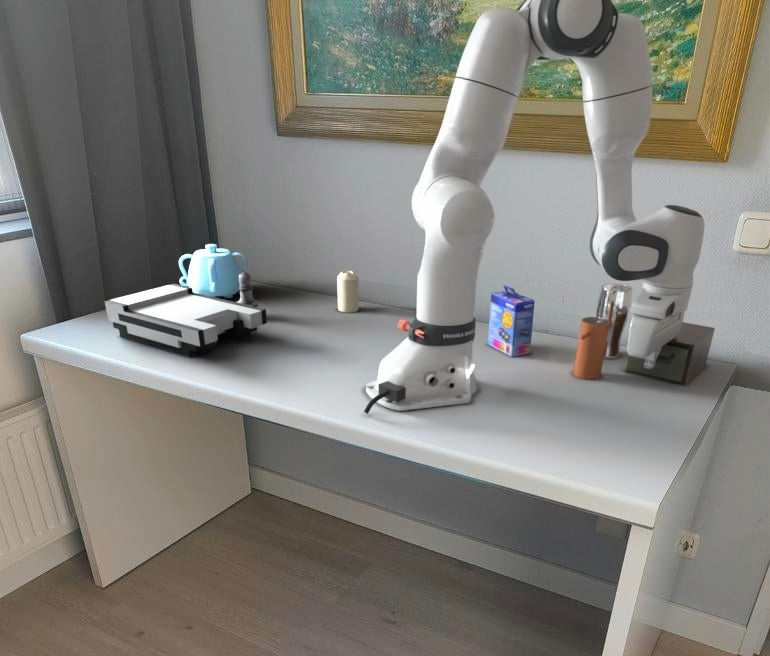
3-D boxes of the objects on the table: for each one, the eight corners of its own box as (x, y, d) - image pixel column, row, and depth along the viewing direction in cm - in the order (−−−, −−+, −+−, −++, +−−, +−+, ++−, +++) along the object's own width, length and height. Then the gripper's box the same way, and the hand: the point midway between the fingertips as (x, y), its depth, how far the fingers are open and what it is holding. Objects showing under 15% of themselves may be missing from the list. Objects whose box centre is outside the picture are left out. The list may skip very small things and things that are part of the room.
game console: (202, 362, 156) (197, 325, 152) (111, 335, 172) (104, 301, 167) (268, 338, 170) (265, 304, 166) (178, 315, 186) (174, 283, 182)
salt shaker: (248, 312, 189) (243, 265, 183) (264, 315, 186) (260, 268, 180) (232, 317, 185) (226, 269, 179) (248, 321, 182) (243, 273, 176)
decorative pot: (257, 294, 204) (253, 244, 197) (211, 305, 194) (205, 253, 187) (222, 284, 214) (216, 236, 207) (176, 294, 203) (169, 244, 196)
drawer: (673, 388, 142) (681, 355, 139) (619, 375, 148) (625, 344, 144) (700, 364, 154) (708, 333, 151) (649, 353, 160) (655, 324, 156)
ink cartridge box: (485, 344, 167) (490, 281, 159) (505, 341, 169) (510, 279, 162) (510, 357, 160) (517, 292, 152) (530, 353, 162) (538, 289, 154)
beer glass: (622, 360, 158) (635, 292, 150) (590, 358, 159) (601, 290, 151) (620, 350, 164) (632, 284, 156) (589, 348, 165) (599, 282, 157)
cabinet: (684, 385, 146) (694, 345, 141) (625, 371, 152) (633, 333, 148) (705, 365, 156) (714, 327, 151) (649, 354, 162) (657, 317, 158)
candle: (358, 312, 189) (357, 274, 184) (337, 312, 189) (336, 273, 184) (359, 306, 194) (358, 269, 188) (338, 306, 194) (337, 268, 188)
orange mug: (579, 368, 154) (588, 315, 148) (604, 374, 151) (614, 319, 145) (562, 380, 148) (570, 325, 142) (587, 386, 145) (596, 330, 139)
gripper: (667, 285, 144) (652, 351, 151) (628, 306, 130) (613, 377, 138) (698, 290, 141) (682, 357, 148) (662, 312, 127) (645, 385, 134)
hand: (649, 367), depth 143 cm, fingers closed, pressing on drawer
